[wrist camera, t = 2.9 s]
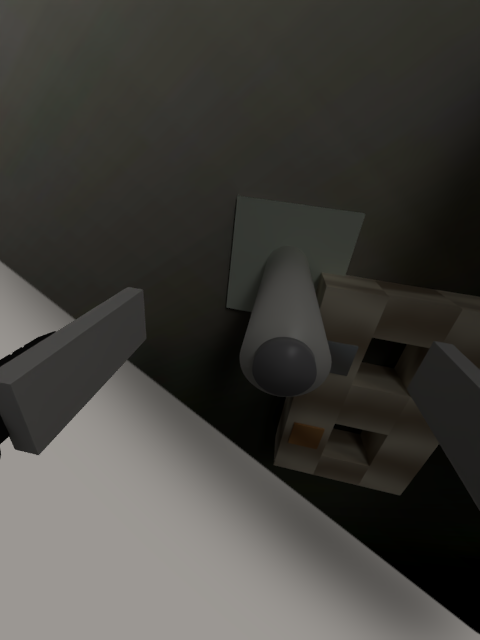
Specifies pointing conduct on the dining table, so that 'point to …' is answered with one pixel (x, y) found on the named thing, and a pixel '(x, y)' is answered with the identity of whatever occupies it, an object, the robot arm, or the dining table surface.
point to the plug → (286, 330)
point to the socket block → (373, 382)
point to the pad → (287, 242)
